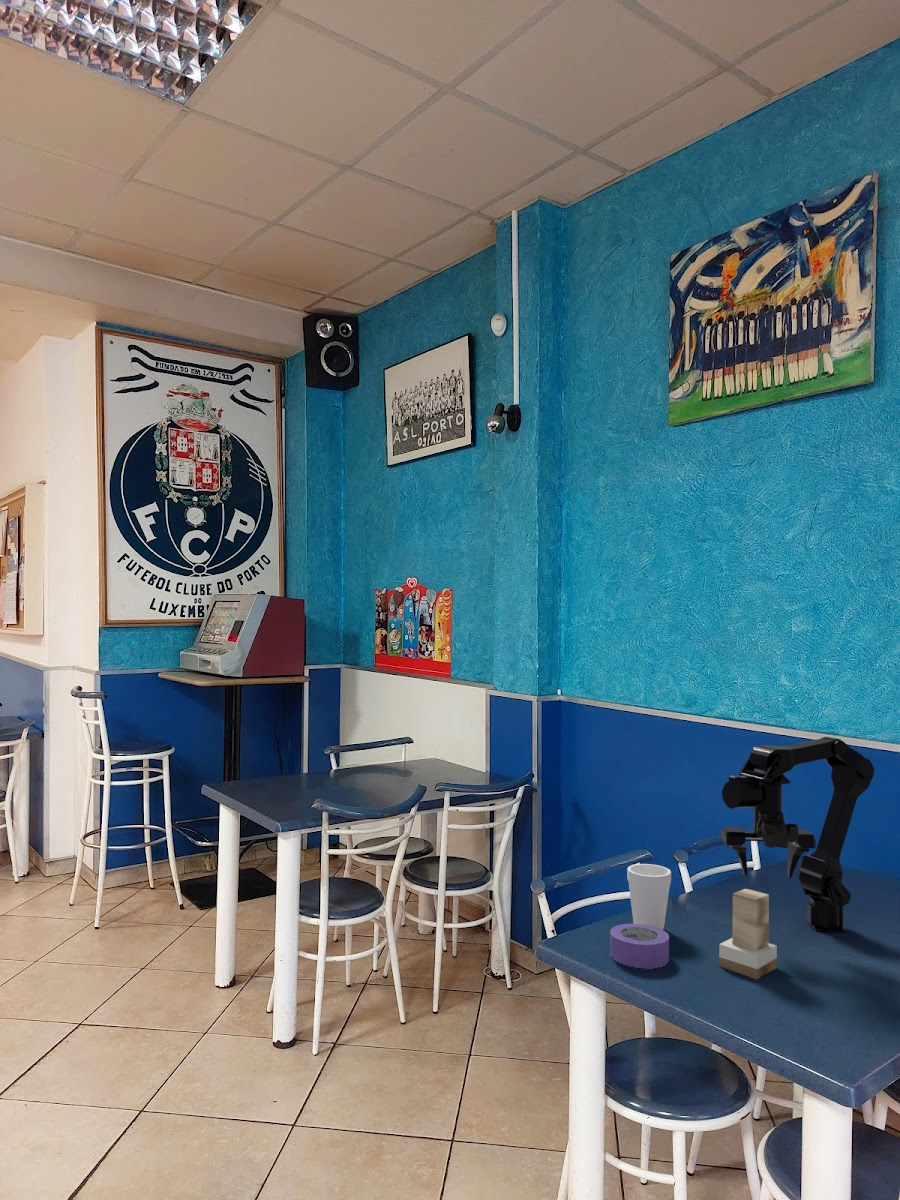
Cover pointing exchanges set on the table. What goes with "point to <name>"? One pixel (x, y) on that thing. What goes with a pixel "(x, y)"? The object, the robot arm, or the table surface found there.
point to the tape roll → (639, 945)
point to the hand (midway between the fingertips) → (767, 877)
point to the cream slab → (747, 954)
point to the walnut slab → (748, 968)
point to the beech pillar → (750, 919)
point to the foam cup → (649, 893)
